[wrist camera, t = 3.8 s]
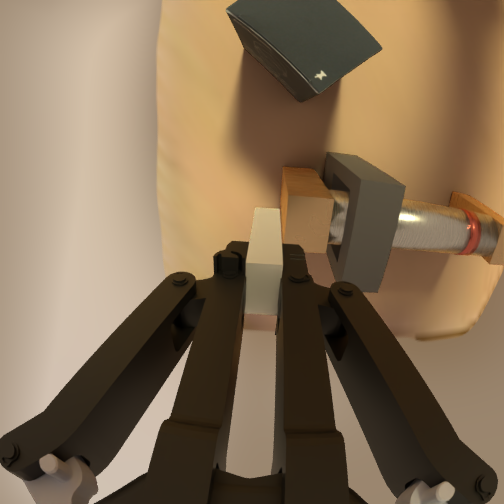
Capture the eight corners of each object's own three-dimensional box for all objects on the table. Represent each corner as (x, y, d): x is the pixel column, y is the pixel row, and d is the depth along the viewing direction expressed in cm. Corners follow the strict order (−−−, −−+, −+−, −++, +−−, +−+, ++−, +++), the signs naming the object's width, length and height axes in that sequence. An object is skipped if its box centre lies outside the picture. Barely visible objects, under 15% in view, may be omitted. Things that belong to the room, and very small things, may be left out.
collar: (317, 227, 28) (338, 291, 18) (326, 151, 24) (361, 179, 14) (345, 229, 27) (377, 292, 18) (356, 155, 24) (405, 186, 14)
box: (343, 70, 20) (386, 49, 11) (299, 104, 22) (317, 98, 13) (286, 13, 18) (293, -38, 8) (241, 46, 20) (221, 9, 11)
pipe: (280, 205, 27) (283, 252, 19) (282, 165, 25) (288, 194, 17) (461, 225, 26) (505, 266, 18) (469, 194, 24) (519, 228, 16)
